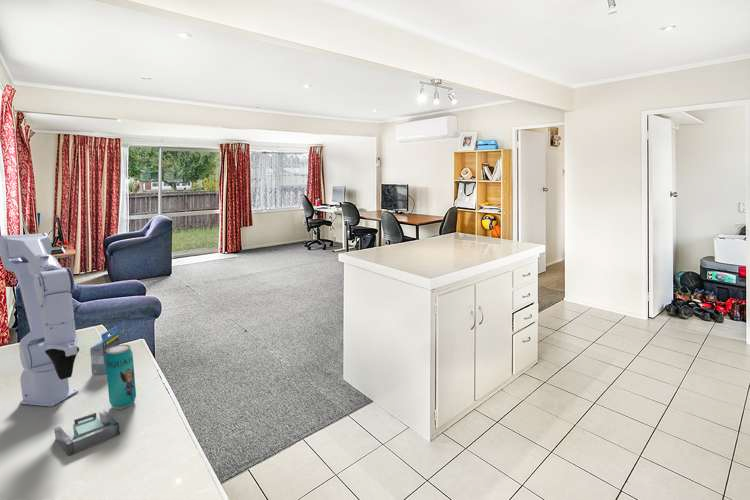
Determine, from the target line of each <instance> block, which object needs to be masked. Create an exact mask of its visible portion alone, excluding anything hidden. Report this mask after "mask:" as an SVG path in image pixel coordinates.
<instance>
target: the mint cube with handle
mask: <svg viewBox="0 0 750 500" xmlns="http://www.w3.org/2000/svg"><path fill="white" fill-rule="evenodd" d="M73 422H74V423H72V426H73V427H72V428H73V436H74V439H77V438H79V437H82V436H84V435H87V434H89V433H92V432H94V431H97V430H99V429H102V428H104V427H105V426H104V425H103V424H102V422H101V421H100V417H98V416H97V412H94V413H90V414H87V415H85V416H82V417H79V418H75V419H74V420H73Z"/></svg>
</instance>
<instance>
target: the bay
mask: <svg viewBox="0 0 750 500" xmlns="http://www.w3.org/2000/svg"><path fill="white" fill-rule="evenodd" d="M98 414H99V419H100V421H101V422H102V424H103V425H104V428H102V429H99V430H97V431H94V432H92V433H89V434H87V435H84V436H82V437H79V438H77V439H76V438H74V439H71V438H70V436H69V435H68V434H67V433H66V432H65V430H64V429H63V428H62V426H57V427H55V428H54V429H53V430H54V437H55V441H57V443H58V445H59V446H61V448H62V449H63V450H64V452H66V454H67V455H68V457H69V456H72V455H75V454H77V453H79V452H81V451H84V450H87V449H88V448H90V447H93V446H96V445H97V444H100V443H103V442H106V441H107V440H109V439H113V438H114V437H117V436H120V435H121V428H120V422H118V421H117V420H116V419H115V418H113V417H112V415H110V414H109V413H108V412H107V411H106V410H105V409H104V410H101V411H99V412H98Z"/></svg>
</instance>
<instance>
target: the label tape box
mask: <svg viewBox="0 0 750 500" xmlns="http://www.w3.org/2000/svg"><path fill="white" fill-rule="evenodd" d="M110 334H111V335H110ZM119 334H120V333H119V327H118V325H115V326H114V327H112V328H110V329H109V330H107V331H105V332H104V333H102V334H100V336H101V340H100V341H99V342H98V343H96V344H94V345H93V346H92V347H90V349H89V350H90V351H89V353H90V363H91V365H90V367H91V375H96V376H97V375H98V376H100V375H107V371H106V361H105V356H106V353H107V352H106V350H107V349H108V348H110V347H113V346H117V345H120V339H119V338H120V335H119Z"/></svg>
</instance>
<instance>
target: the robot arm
mask: <svg viewBox="0 0 750 500" xmlns="http://www.w3.org/2000/svg"><path fill="white" fill-rule="evenodd" d="M52 249H53V248H52V240H51V237H50V235H49V234H48V233H46V232H42V233H29V234H28V233H27V234H11V235H10V234H9V235H8V234H7V235H4V234H3V235H2V234H1V235H0V259H1V263H2V266H3V267H4V270H5V271H9V272H12V273H13V274H14V276H15V278H16V280H17V282H18V285H19V289H20V293H21V299H22V302H23V307H24V310H25V314H26V318H27V322H28V327H29V332H28V333H27V334H25V335H24V336H23V337H22V338H21V339H20V341H19V342H18V343H19V344H18V348H19V356H20V361H21V362H20V363H21V366H22V368H23V371H22V372H21V374H20V387H21V389H20V390H21V396H22V397H21V398H22V400H20V401H19V404H21V405H31V406H40V407H41V406H42V407H53V406H55V405H57V404H59V403H60V402H62V401H64V400H66V399H68V398H69V397H71V396H73V395H74V394H76V393H78V392H79V389H74V388H70V386H69V378H72V376H73V371H74V366H75V365H74V364H75V360H76V358H77V356H78V353H79V352H80V347H79V346H77V344H78V335H77V332H76V331H77V330H76V322H75V321H76V320H75V314H74V305H73V295H72V293H74V291H75V279H74V274H73V272H72V270H71V268H70V267H63V266H61V264H60V263H59V261H58V259H57V258H56V257H55V256H53V255H52V251H53V250H52Z"/></svg>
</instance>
